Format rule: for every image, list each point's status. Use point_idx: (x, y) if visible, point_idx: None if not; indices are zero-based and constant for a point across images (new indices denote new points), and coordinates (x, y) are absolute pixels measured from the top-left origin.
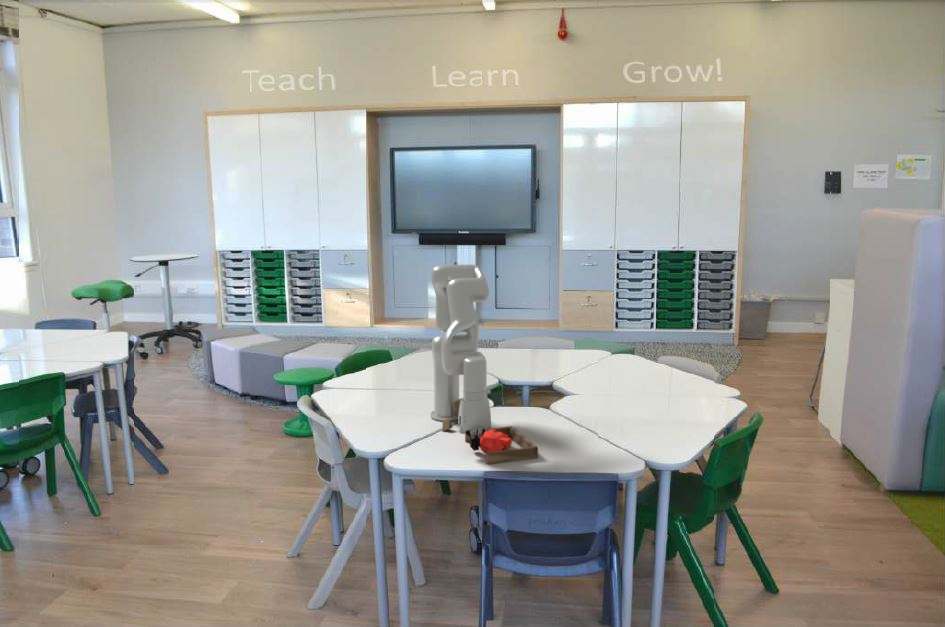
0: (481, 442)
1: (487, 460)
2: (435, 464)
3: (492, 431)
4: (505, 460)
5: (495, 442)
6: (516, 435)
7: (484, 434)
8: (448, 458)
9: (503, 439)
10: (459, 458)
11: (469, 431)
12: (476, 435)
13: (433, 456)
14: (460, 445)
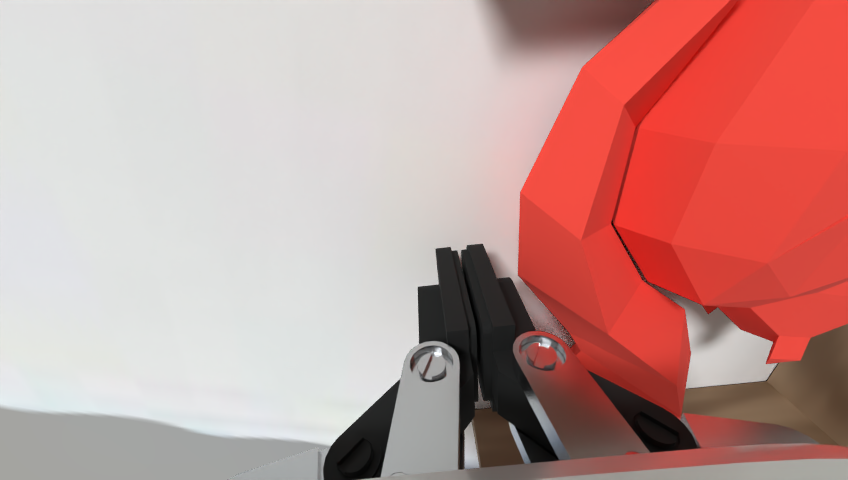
0: (547, 293)
1: (476, 447)
2: (161, 388)
3: None
4: None
5: (648, 396)
6: None
7: (724, 110)
8: (237, 325)
9: (793, 314)
10: (320, 336)
11: (414, 442)
12: (505, 405)
13: (102, 275)
14: (350, 28)
